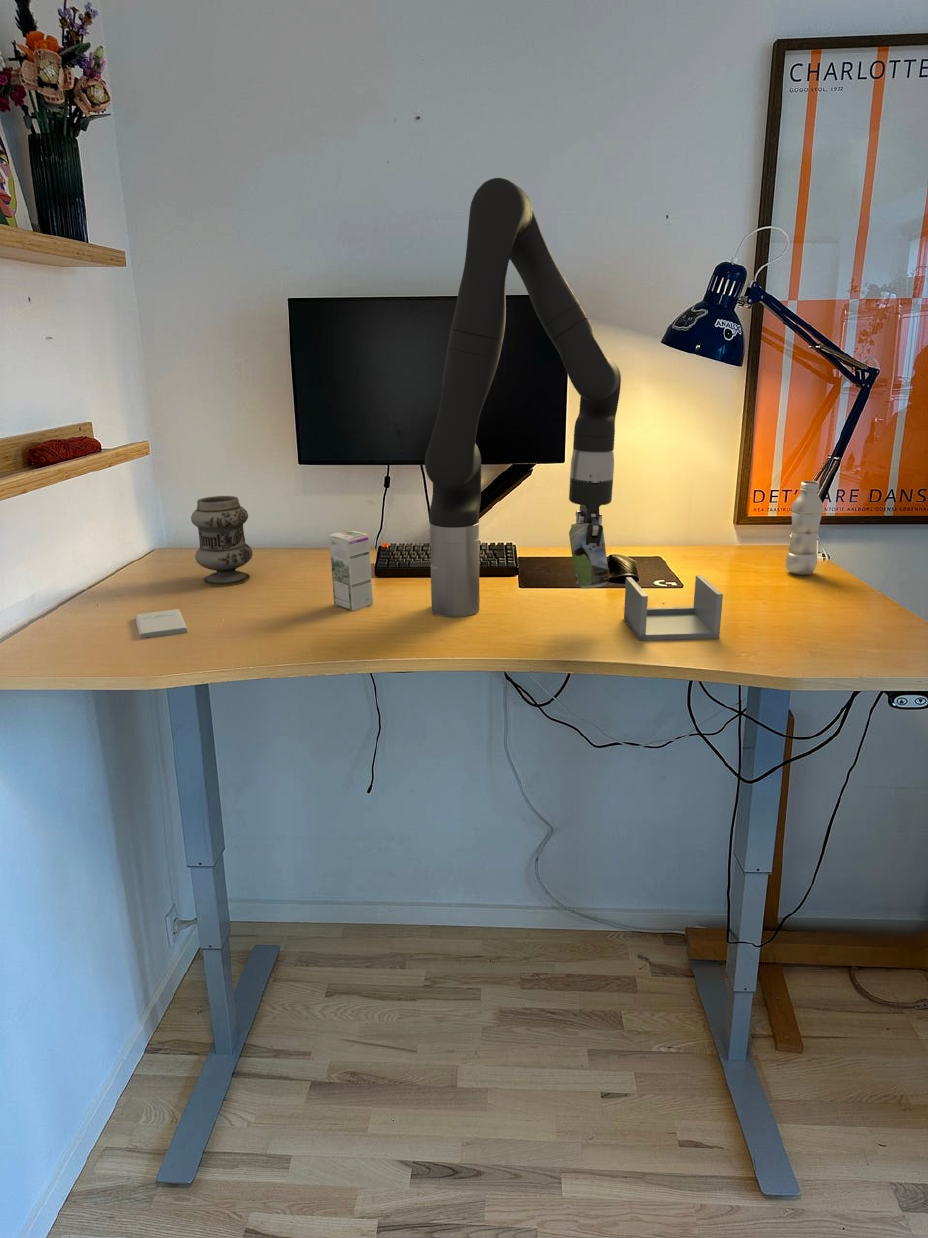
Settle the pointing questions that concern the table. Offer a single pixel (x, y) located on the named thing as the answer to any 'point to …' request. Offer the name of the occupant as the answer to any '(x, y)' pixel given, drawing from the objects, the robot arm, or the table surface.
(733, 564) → the table surface
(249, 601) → the table surface
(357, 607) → the syrup box
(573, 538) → the beverage can
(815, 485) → the plastic bottle
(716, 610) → the holder
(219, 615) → the table surface
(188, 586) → the table surface
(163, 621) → the external hard drive
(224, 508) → the apothecary jar
